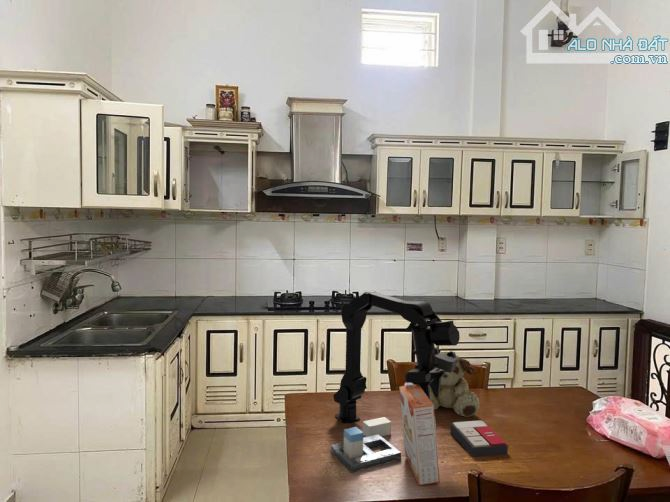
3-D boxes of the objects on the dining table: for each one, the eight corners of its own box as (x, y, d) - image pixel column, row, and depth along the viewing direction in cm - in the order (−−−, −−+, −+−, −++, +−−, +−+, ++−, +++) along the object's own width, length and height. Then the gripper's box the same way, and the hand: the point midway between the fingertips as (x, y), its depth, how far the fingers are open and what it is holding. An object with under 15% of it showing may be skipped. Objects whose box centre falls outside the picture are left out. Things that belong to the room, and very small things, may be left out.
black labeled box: (473, 446, 128) (450, 420, 143) (472, 460, 129) (449, 433, 144) (508, 443, 131) (482, 418, 145) (507, 457, 131) (481, 430, 146)
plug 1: (343, 457, 128) (343, 429, 127) (355, 453, 130) (356, 426, 129) (351, 465, 124) (351, 436, 123) (364, 461, 125) (364, 433, 125)
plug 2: (362, 433, 142) (362, 421, 142) (384, 429, 146) (384, 416, 145) (369, 439, 138) (369, 426, 138) (391, 434, 142) (391, 421, 142)
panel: (330, 451, 130) (331, 444, 130) (378, 440, 138) (378, 433, 137) (350, 472, 120) (350, 464, 120) (400, 459, 127) (401, 451, 127)
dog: (409, 410, 161) (411, 355, 159) (420, 392, 178) (422, 342, 177) (478, 422, 152) (480, 363, 151) (482, 402, 169) (484, 349, 168)
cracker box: (403, 456, 128) (398, 385, 126) (424, 453, 128) (419, 382, 126) (417, 486, 114) (411, 407, 112) (440, 483, 114) (435, 404, 112)
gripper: (438, 351, 119) (447, 411, 118) (462, 339, 135) (470, 392, 133) (400, 352, 126) (408, 409, 124) (427, 340, 141) (435, 391, 140)
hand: (432, 400), depth 130 cm, fingers open, 6 cm apart
